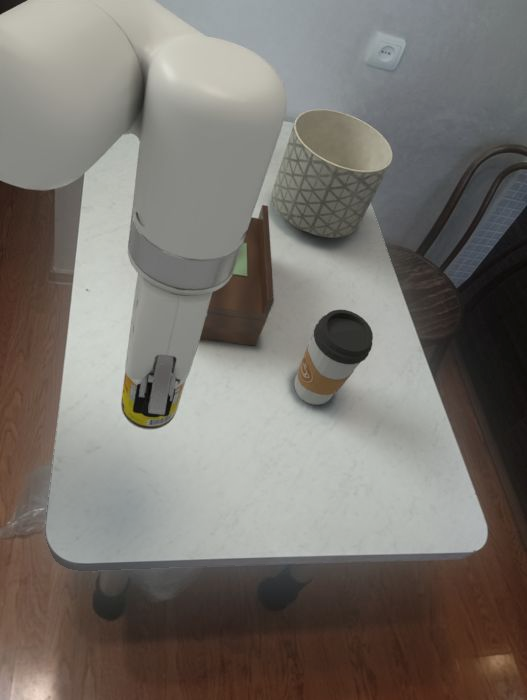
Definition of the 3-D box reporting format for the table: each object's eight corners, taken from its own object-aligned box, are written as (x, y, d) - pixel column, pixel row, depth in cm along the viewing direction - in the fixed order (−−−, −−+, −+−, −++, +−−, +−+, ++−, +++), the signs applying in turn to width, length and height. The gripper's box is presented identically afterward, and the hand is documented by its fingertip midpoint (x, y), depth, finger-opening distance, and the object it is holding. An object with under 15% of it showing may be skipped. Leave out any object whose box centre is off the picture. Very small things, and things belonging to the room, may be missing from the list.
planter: (320, 181, 120) (351, 105, 106) (372, 238, 112) (412, 164, 99) (250, 194, 111) (274, 112, 97) (301, 257, 103) (335, 178, 89)
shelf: (168, 334, 84) (177, 286, 75) (177, 239, 97) (186, 189, 89) (255, 346, 87) (274, 301, 78) (252, 252, 100) (268, 205, 92)
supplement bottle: (140, 375, 56) (151, 313, 48) (186, 401, 56) (205, 343, 48) (108, 414, 53) (115, 354, 45) (157, 442, 52) (173, 386, 44)
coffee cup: (280, 369, 85) (310, 308, 74) (326, 364, 88) (362, 304, 77) (297, 415, 81) (332, 357, 69) (345, 408, 84) (386, 351, 73)
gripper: (143, 154, 41) (124, 307, 55) (111, 329, 31) (98, 463, 45) (238, 176, 43) (197, 318, 57) (239, 348, 32) (188, 471, 46)
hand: (154, 381), depth 50 cm, fingers closed on supplement bottle, 5 cm apart
